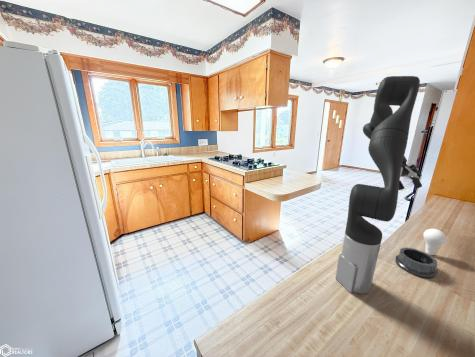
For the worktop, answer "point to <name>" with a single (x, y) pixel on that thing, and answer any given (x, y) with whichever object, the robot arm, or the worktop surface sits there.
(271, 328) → the worktop surface
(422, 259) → the socket holder
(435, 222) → the worktop surface
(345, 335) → the worktop surface
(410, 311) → the worktop surface
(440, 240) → the lightbulb
